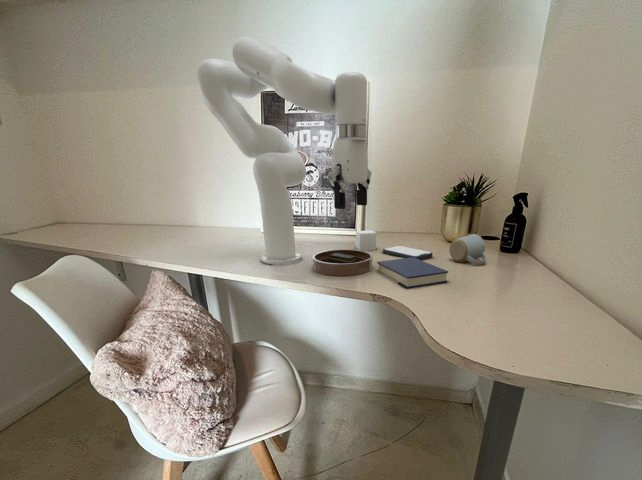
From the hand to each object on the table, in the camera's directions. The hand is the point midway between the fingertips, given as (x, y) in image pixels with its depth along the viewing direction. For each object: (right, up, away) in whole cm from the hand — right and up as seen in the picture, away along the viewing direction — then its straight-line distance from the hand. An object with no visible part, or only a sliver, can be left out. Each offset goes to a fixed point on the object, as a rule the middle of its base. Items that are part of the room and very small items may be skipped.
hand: (351, 206), depth 89 cm
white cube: (+6, -5, +33) cm, 34 cm away
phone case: (+19, -9, +23) cm, 31 cm away
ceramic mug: (+37, -12, +14) cm, 42 cm away
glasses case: (-2, -15, +8) cm, 17 cm away
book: (+16, -19, +1) cm, 25 cm away
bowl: (-2, -16, +8) cm, 18 cm away
